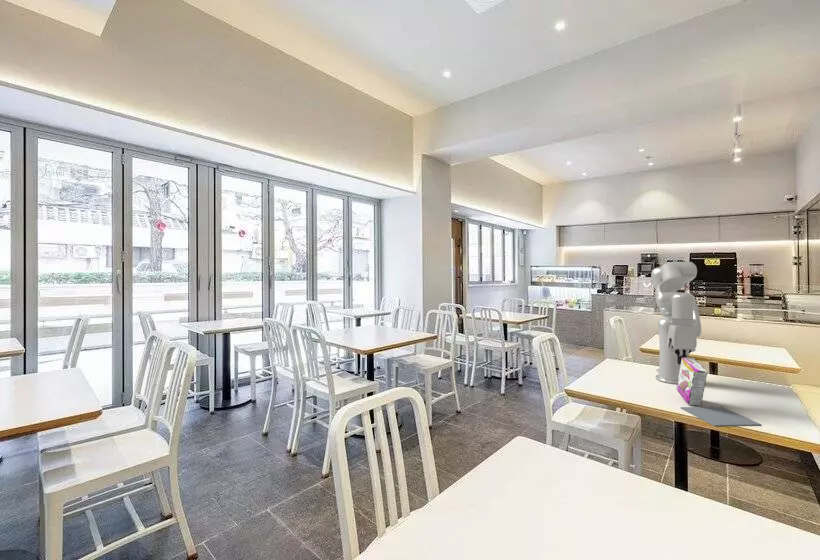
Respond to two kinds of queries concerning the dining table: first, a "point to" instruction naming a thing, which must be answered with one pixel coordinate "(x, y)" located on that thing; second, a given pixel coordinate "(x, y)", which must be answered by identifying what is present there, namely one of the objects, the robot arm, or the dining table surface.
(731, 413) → the mat
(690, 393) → the candy bar box
